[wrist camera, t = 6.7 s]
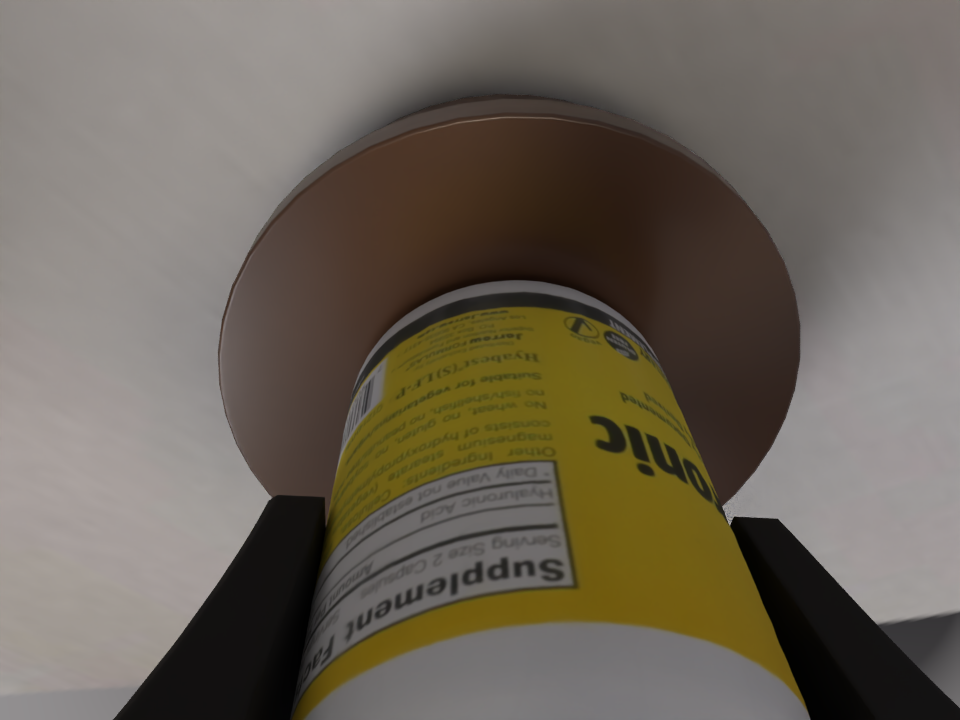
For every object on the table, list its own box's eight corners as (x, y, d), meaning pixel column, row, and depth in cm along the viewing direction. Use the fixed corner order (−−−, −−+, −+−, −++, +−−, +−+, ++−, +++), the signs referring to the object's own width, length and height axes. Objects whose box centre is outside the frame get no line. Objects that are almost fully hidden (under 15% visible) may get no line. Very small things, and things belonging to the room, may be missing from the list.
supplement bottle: (700, 462, 14) (1048, 1325, 6) (435, 549, 15) (413, 1375, 7) (607, 211, 11) (1033, 1204, 3) (290, 342, 12) (-42, 1327, 4)
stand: (815, 89, 13) (899, 144, 11) (678, 500, 19) (712, 599, 16) (235, 36, 12) (180, 81, 10) (271, 480, 18) (242, 581, 15)
